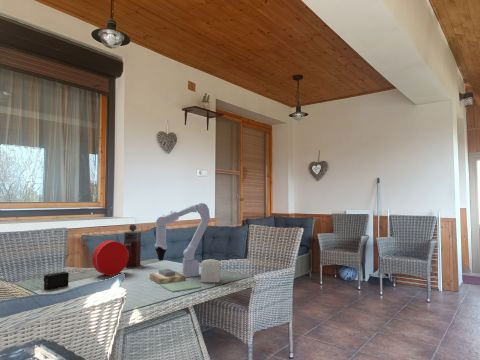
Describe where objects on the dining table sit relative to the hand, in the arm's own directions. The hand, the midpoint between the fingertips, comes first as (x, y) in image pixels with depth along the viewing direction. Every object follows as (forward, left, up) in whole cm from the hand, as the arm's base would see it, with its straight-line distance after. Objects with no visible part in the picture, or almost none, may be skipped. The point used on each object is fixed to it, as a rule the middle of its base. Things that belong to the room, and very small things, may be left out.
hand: (160, 260), depth 202 cm
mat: (0, +28, -9) cm, 29 cm away
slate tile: (0, +10, -6) cm, 11 cm away
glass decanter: (+5, -40, -10) cm, 41 cm away
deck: (0, +11, -9) cm, 14 cm away
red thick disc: (+23, -21, -10) cm, 33 cm away
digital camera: (+54, -6, -10) cm, 55 cm away
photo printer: (-18, +28, -10) cm, 34 cm away
